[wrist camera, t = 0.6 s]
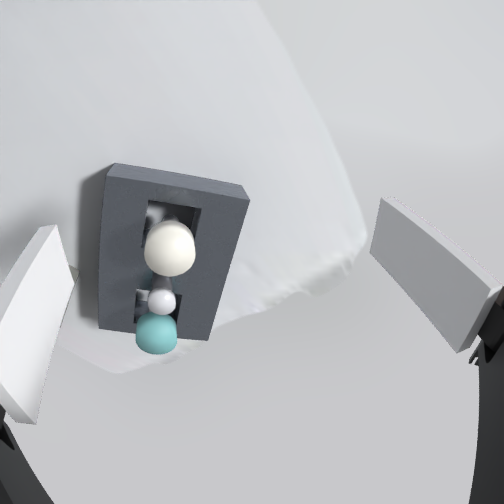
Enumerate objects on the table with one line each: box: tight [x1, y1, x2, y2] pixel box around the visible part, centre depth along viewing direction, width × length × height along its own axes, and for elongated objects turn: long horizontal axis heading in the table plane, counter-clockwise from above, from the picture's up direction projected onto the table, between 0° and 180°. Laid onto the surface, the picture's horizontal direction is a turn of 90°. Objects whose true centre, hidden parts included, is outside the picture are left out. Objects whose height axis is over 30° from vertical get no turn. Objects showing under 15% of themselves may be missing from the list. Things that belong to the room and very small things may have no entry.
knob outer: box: [136, 309, 177, 354], centre depth 38 cm, size 5×5×7 cm
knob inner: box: [144, 215, 195, 276], centre depth 33 cm, size 5×5×7 cm
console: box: [98, 163, 250, 341], centre depth 39 cm, size 16×22×5 cm
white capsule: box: [148, 271, 176, 315], centre depth 35 cm, size 3×3×6 cm
